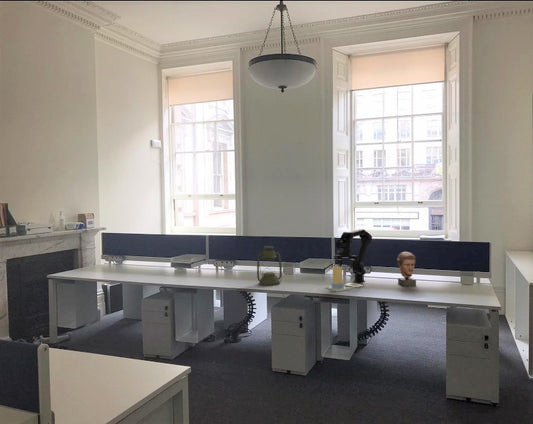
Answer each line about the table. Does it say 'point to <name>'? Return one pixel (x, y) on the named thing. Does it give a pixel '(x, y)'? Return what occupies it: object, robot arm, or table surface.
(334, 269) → the pillar brick
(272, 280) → the lantern
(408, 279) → the bust
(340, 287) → the base brick
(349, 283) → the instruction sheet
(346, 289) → the baseplate
